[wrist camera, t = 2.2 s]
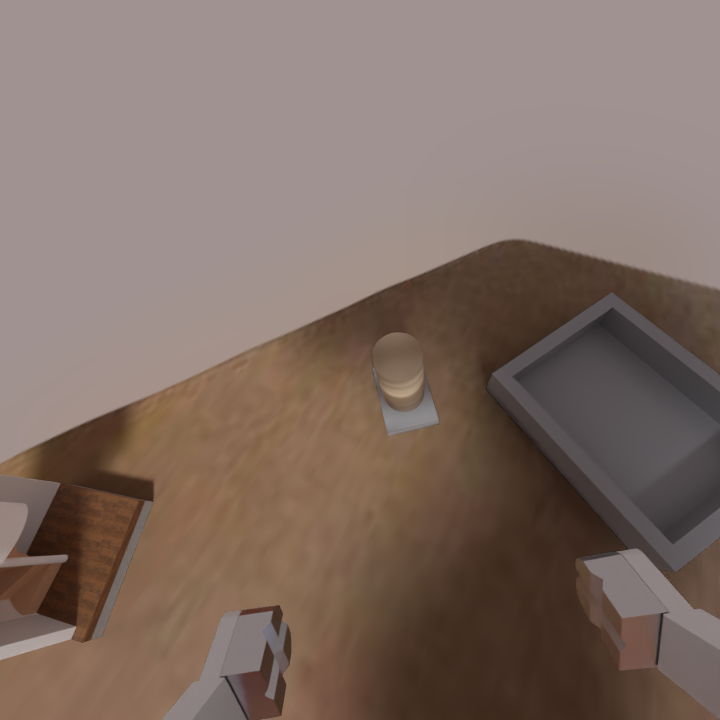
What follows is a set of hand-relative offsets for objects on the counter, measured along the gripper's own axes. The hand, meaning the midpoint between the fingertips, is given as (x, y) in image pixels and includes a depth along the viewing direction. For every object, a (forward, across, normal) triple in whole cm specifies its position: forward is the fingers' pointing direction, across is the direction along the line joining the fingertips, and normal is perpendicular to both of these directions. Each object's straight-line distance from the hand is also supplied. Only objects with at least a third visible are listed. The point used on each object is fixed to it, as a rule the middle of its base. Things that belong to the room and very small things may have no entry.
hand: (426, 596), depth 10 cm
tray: (+22, -20, +11) cm, 31 cm away
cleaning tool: (+26, -1, +7) cm, 27 cm away
